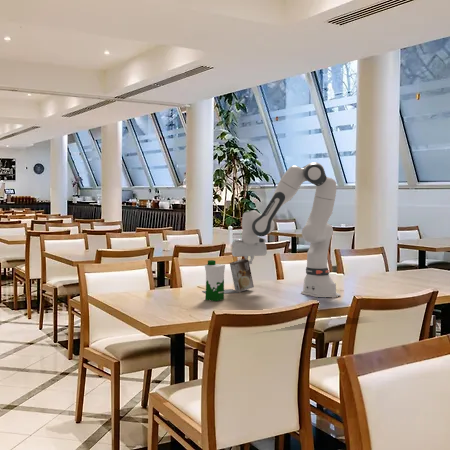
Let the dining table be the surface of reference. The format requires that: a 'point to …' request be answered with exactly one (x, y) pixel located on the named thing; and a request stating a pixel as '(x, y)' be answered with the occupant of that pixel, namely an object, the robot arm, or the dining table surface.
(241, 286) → the coffee box
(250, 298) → the dining table surface
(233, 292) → the mat
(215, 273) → the milk carton
